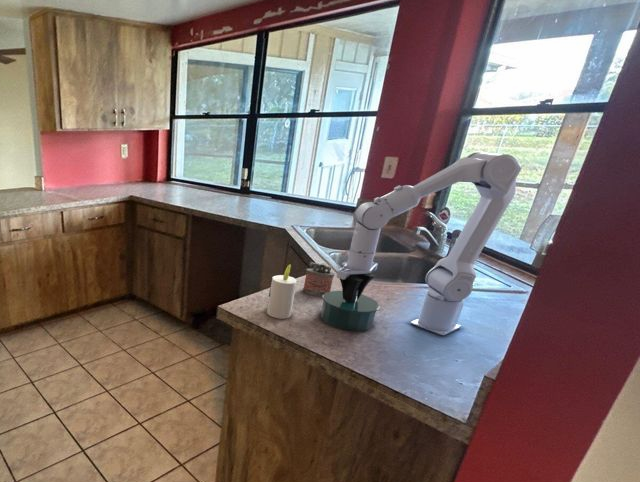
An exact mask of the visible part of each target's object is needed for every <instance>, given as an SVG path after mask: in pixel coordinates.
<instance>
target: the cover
mask: <svg viewBox="0 0 640 482" xmlns="http://www.w3.org/2000/svg"><path fill="white" fill-rule="evenodd" d="M358 291H359V289H358V288H357V290H356V292H355V295H354V297H353V299H352V301H351V302H349V301H346V300H344V299H343V292H342V290H330V292H327V293H325V294H324V295H323V297H322V300H323V301H324V302H325V303H327V304H328V305H330V306H332V307H334V308H337V309H340V310H343V311H348V312H353V313H373V312H376V313H377V311H379V309H380V304H379V303H378V302H377V301H376V300H375V299H374V298H371V297H370V296H368V295H364V294H361V296H360V297H359V299H357V295H358Z"/></svg>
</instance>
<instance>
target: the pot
mask: <svg viewBox="0 0 640 482" xmlns="http://www.w3.org/2000/svg"><path fill="white" fill-rule="evenodd" d="M376 314H377V311H376V312H373V313H353V312H348V311H343V310H340V309H337V308H334V307H332V306H330V305H328V304H327V303H325V302H324V300H323V302H322V306H321V311H320V318H321V320H322V321H324V323H326V324H328V325H329V326H332V327H335V328H336V329H337V328H338V329H340V330H344V331H352V332H364V331H368V330H370V329H371V328H373V324H374V321H375V317H376Z"/></svg>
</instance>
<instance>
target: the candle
mask: <svg viewBox="0 0 640 482" xmlns="http://www.w3.org/2000/svg"><path fill="white" fill-rule="evenodd" d="M291 267H292V265H291V263H290V264H288V265H287V267H286V268H285V271H284V273H283V274H277V275H274V276H272V277H271V284H270V287H269V292H268V297H269V298H268V305H267V310H266V313H267V315H269V316H270V317H271V318H275V319H281V320H285V319H289V318H290V317H291V315H292V310H293V304H294V300H295V293H296V287H297V282H298V280H297V279H296V278H295V277H293V276H290V272H291Z"/></svg>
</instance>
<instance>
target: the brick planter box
mask: <svg viewBox="0 0 640 482" xmlns="http://www.w3.org/2000/svg"><path fill="white" fill-rule="evenodd" d="M309 267H310V268H306V270H305V271H306V274H305V278H304V279H305V280H304V284H303V288H302V293H304V294H307V295H312V296H316V297H322V298H323V295H324V294H325V293H327V292H330V291H332V285H333V280H334V277H335V274H336V273H335V272H333V271H332V267H333V266H332V265H326V263H324V262H323V263H319V262H313V261H311V262H310V263H309Z"/></svg>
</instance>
